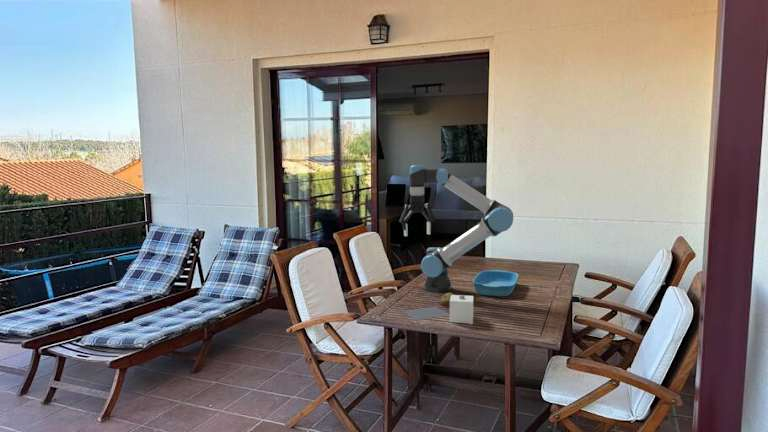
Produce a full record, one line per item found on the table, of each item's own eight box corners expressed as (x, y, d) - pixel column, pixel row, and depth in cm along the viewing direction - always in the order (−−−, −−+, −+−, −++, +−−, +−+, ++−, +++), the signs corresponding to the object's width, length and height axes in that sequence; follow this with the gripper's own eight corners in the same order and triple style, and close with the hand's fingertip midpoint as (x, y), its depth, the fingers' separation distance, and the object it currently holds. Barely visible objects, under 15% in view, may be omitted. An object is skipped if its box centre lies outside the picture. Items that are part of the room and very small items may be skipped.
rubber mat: (435, 307, 246) (435, 306, 246) (450, 315, 234) (450, 314, 234) (401, 312, 239) (401, 311, 239) (415, 321, 226) (415, 320, 226)
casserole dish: (513, 300, 258) (513, 286, 257) (469, 296, 266) (469, 283, 265) (520, 283, 292) (520, 271, 292) (481, 280, 300) (481, 268, 299)
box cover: (451, 316, 233) (451, 292, 231) (473, 317, 231) (473, 293, 229) (449, 323, 223) (449, 298, 222) (472, 324, 221) (472, 299, 220)
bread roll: (450, 309, 256) (444, 293, 258) (466, 303, 250) (460, 288, 251) (439, 313, 249) (433, 298, 250) (456, 308, 242) (449, 292, 244)
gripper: (434, 193, 274) (434, 232, 277) (392, 195, 264) (392, 235, 266) (441, 194, 267) (441, 234, 270) (398, 196, 257) (399, 237, 260)
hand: (417, 235), depth 268 cm, fingers open, 13 cm apart
